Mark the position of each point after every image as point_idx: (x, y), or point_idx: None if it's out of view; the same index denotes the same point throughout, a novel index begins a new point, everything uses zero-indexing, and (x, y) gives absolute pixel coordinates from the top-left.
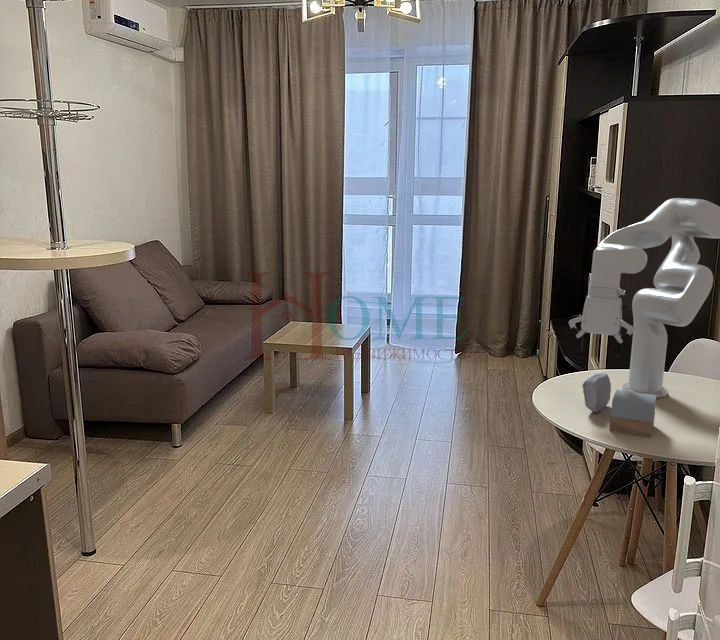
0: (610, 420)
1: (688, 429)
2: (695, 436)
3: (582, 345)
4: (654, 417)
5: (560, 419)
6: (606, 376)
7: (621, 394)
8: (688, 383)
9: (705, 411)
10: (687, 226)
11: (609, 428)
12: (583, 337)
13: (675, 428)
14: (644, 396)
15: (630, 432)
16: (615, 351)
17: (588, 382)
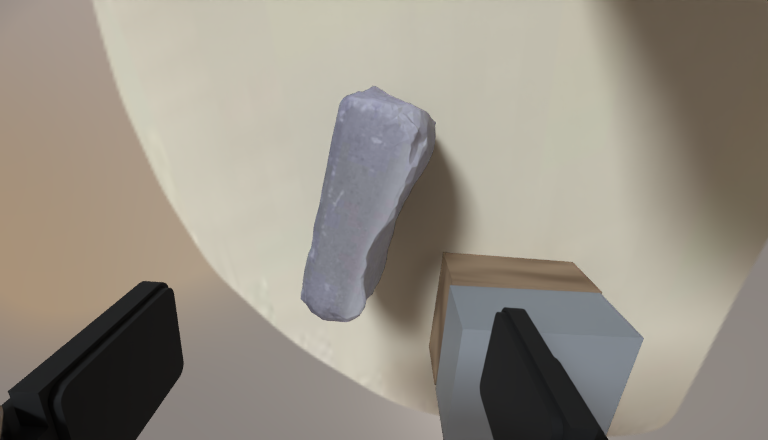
0: (433, 373)
1: (689, 248)
2: (690, 299)
3: (143, 353)
4: (589, 280)
5: (275, 308)
6: (411, 180)
7: None
8: None
9: None
10: None
11: (430, 351)
12: (66, 418)
13: (645, 254)
14: (582, 370)
15: None
16: (496, 434)
17: (326, 318)
